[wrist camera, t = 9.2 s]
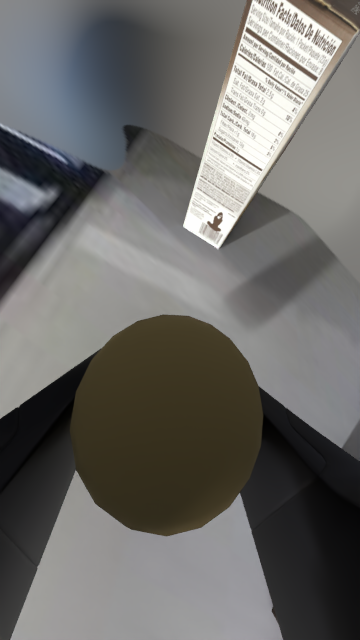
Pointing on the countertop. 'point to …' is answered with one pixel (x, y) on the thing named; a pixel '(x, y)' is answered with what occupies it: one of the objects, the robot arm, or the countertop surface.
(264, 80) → the coffee box
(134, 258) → the countertop surface
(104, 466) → the cork
